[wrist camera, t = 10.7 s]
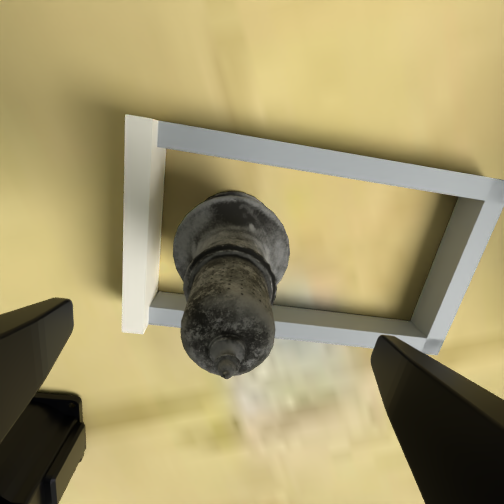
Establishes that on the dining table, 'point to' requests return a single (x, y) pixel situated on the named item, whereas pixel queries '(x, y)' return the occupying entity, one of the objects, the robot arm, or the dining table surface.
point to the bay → (317, 161)
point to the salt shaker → (230, 281)
